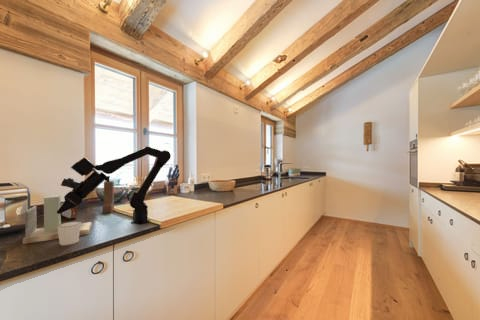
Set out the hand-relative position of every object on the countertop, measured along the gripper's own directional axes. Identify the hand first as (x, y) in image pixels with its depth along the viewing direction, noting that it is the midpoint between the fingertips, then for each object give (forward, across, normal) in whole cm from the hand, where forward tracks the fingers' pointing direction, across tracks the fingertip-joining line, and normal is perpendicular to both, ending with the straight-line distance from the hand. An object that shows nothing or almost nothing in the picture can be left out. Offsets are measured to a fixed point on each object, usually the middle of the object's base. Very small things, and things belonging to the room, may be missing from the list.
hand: (60, 210), depth 89 cm
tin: (+8, -29, +6) cm, 31 cm away
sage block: (+7, 0, +4) cm, 8 cm away
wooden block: (-4, -32, +19) cm, 37 cm away
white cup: (+4, +14, +11) cm, 18 cm away
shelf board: (+7, +1, +7) cm, 10 cm away
